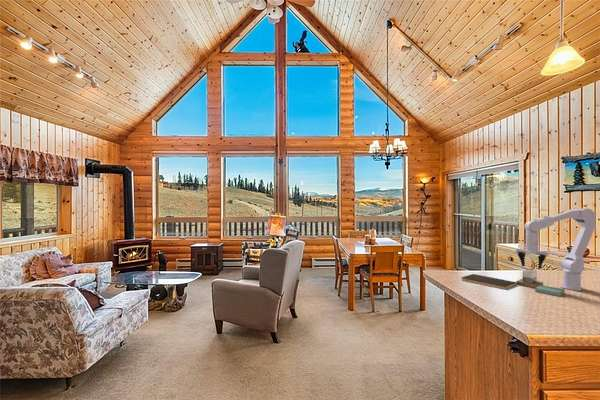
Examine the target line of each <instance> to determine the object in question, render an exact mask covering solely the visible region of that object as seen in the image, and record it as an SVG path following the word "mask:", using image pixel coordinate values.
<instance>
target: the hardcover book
mask: <svg viewBox="0 0 600 400" xmlns="http://www.w3.org/2000/svg"><path fill="white" fill-rule="evenodd" d="M461 281H464V282H469V283H473V284H478V285H482V284H483V285H482V286H486V285H487V287H493V288H497V289H501V290H506V289H510V288H512V287H515V286H517V285H516V281H512V280H506V279H502V278H497V277H496V278H495V277H491V276H486V275H481V274H475V273H472V274H467V275H465V276H462V277H461Z"/></svg>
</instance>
